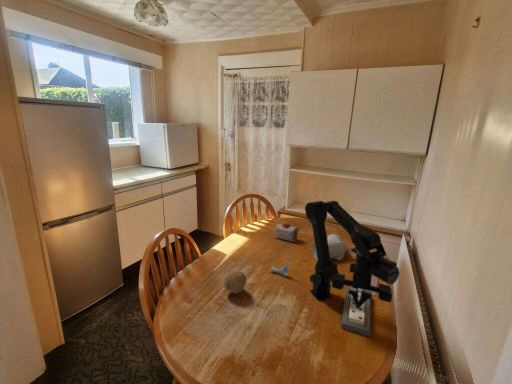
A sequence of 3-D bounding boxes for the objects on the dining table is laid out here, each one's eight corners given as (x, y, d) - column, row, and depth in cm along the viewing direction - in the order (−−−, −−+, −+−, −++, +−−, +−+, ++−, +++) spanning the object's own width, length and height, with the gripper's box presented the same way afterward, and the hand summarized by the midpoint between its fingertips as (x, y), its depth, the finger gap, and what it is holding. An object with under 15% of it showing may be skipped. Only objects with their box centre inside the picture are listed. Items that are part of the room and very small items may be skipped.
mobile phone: (356, 288, 110) (360, 271, 123) (355, 290, 110) (360, 273, 123) (375, 294, 107) (377, 276, 119) (375, 296, 107) (377, 278, 120)
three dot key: (363, 317, 94) (364, 312, 93) (348, 313, 96) (349, 308, 95) (363, 309, 98) (364, 303, 98) (349, 305, 100) (350, 299, 100)
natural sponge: (225, 301, 101) (225, 279, 98) (222, 287, 109) (222, 266, 106) (248, 297, 103) (248, 276, 100) (243, 284, 111) (243, 264, 109)
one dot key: (363, 306, 100) (364, 301, 99) (350, 302, 102) (350, 297, 101) (363, 298, 104) (364, 293, 104) (350, 295, 106) (351, 290, 105)
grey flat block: (369, 336, 86) (369, 331, 85) (341, 327, 89) (341, 322, 89) (369, 297, 105) (369, 293, 105) (346, 291, 109) (346, 287, 108)
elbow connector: (350, 264, 128) (344, 246, 147) (348, 245, 126) (342, 229, 145) (314, 267, 132) (312, 249, 151) (311, 248, 129) (310, 233, 148)
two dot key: (363, 327, 88) (364, 321, 87) (347, 322, 90) (348, 316, 89) (363, 317, 92) (364, 312, 92) (349, 313, 94) (349, 307, 94)
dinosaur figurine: (283, 279, 121) (270, 267, 123) (298, 263, 116) (284, 250, 118) (281, 282, 119) (268, 270, 121) (296, 265, 113) (282, 253, 115)
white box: (272, 238, 158) (273, 223, 155) (278, 233, 164) (279, 219, 162) (293, 243, 151) (294, 228, 149) (298, 239, 158) (299, 224, 155)
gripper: (392, 263, 89) (385, 301, 93) (337, 251, 96) (333, 287, 100) (395, 280, 80) (387, 322, 84) (333, 265, 87) (329, 305, 91)
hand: (357, 307), depth 90 cm, fingers closed
